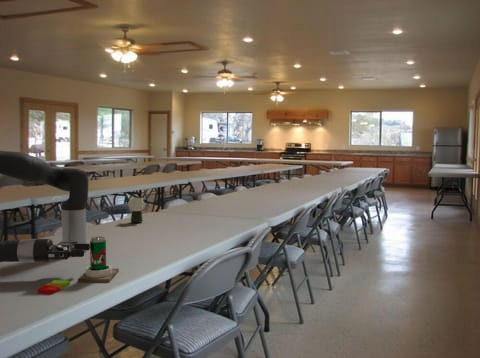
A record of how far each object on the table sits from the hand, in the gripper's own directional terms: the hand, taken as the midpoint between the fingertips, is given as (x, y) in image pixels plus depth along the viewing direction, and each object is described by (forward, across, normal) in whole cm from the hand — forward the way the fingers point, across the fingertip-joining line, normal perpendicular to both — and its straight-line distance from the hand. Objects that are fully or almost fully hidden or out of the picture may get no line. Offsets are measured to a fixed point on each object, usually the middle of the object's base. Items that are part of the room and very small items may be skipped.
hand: (86, 249), depth 153 cm
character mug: (+6, +97, +9) cm, 98 cm away
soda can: (+4, 0, +8) cm, 9 cm away
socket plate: (+4, 0, +9) cm, 10 cm away
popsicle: (-7, -9, +10) cm, 15 cm away
